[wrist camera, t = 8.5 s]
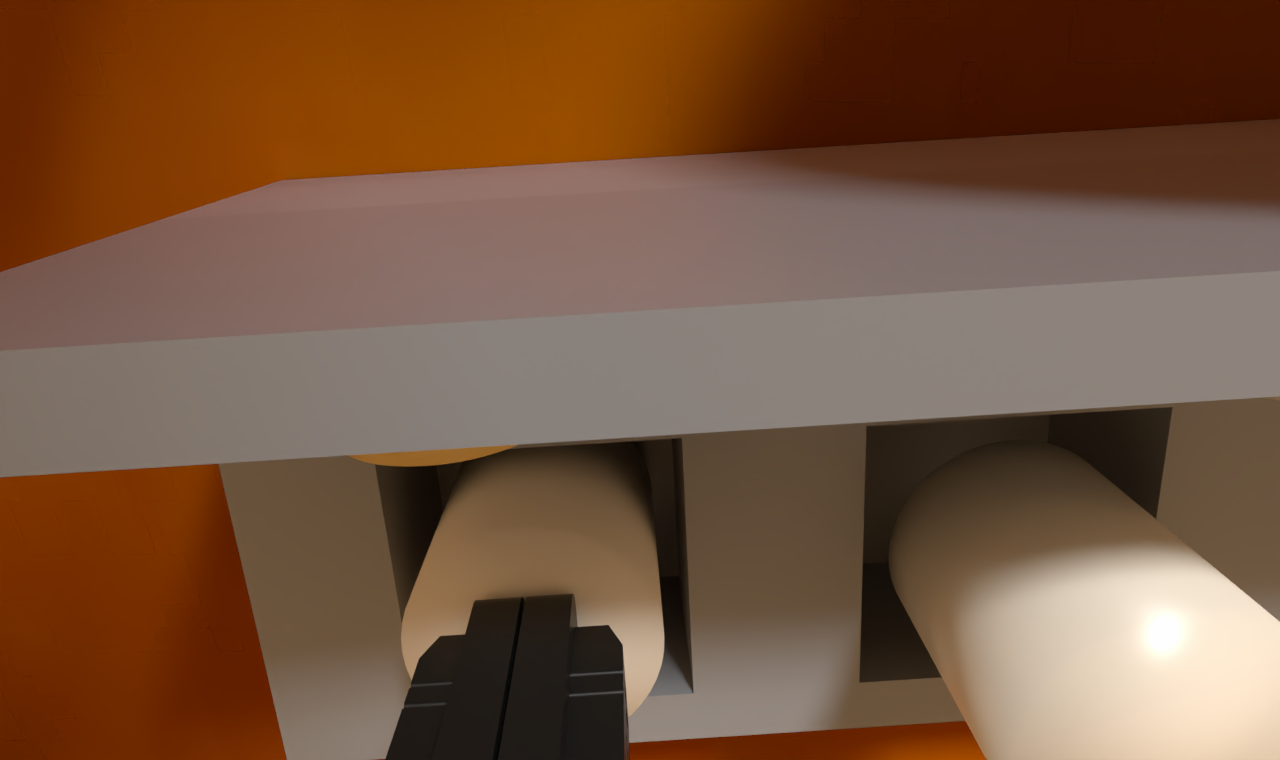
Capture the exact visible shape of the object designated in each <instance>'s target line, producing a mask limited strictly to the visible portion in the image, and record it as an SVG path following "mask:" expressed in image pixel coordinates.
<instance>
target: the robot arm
mask: <svg viewBox="0 0 1280 760" xmlns="http://www.w3.org/2000/svg"><path fill="white" fill-rule="evenodd" d="M385 760H630V758H629V722H628V709H627V695H626V682H625V668H624V655H623V645H622V643H621V642H620V640H619V639H618V638H617V636H616V635H615V633H614V632H613V630H612V629H611V628H610V626H609V625H600V626H584V627H578V625H577V614H576V604H575V597H574V594H561V595H545V596H530V597H526V599H525V600H524V598H523V597H517V598H501V599H486V600H475V601H474V603H473V607H472V610H471V614H470V618H469V622H468V625H467V629H466V633H465V634H463V635H447V636H440V637H439V638H438V639H437V640H436V641H435V642H434V643H433V644H432V645H431V646H430V647H429V648H428V649H427V650H426V652H425V653H424V654H423V655H422V656H421V657H420V658H419V660H418V663H417V666H416V669H415V672H414V675H413V678H412V681H411V688H409V690H408V693H407V696H406V699H405V702H404V709H402V711H401V714H400V717H399V720H398V723H397V726H396V729H395V732H394V735H393V738H392V741H391V744H390V747H389V750H388V753H387V756H386V759H385Z"/></svg>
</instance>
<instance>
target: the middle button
mask: <svg viewBox="0 0 1280 760" xmlns="http://www.w3.org/2000/svg"><path fill="white" fill-rule="evenodd" d="M888 556H889V570H890V575H891V580H892V583H893V585H894V588H895V591H896V593H897V595H898V597H899V599H900V600H901V602H902V604H903V606H904V608H905V610H906V612H907V613H908V615H909V617H910V619H911V621H912V623H913V625H914V626H915V628H916V630H917V632H918V634H919V636H920V638H921V639H922V641H923V643H924V645H925V647H926V649H927V650H928V652H929V654H930V656H931V658H932V660H933V662H934V663H935V665H936V667H937V669H938V671H939V673H940V675H941V676H942V678H943V680H944V682H945V684H946V686H947V688H948V689H949V691H950V693H951V695H952V697H953V699H954V701H955V702H956V704H957V706H958V708H959V710H960V712H961V714H962V715H963V717H964V719H965V721H966V723H967V725H968V727H969V728H970V730H971V732H972V734H973V736H974V738H975V740H976V741H977V743H978V745H979V747H980V749H981V751H982V753H983V754H984V756H985V758H986V760H1280V622H1279V621H1278V620H1277V619H1276V618H1275V617H1273V616H1272V615H1271V614H1270V613H1269V612H1267V611H1266V610H1265V609H1264V608H1263V607H1261V606H1260V605H1259V604H1258V603H1257V602H1255V601H1254V600H1253V599H1252V598H1251V597H1249V596H1248V595H1247V594H1246V593H1244V592H1243V591H1242V590H1241V589H1240V588H1238V587H1237V586H1236V585H1235V584H1234V583H1232V582H1231V581H1230V580H1229V579H1228V578H1226V577H1225V576H1224V575H1223V574H1222V573H1220V572H1219V571H1218V570H1217V569H1216V568H1214V567H1213V566H1212V565H1211V564H1209V563H1208V562H1207V561H1206V560H1205V559H1203V558H1202V557H1201V556H1200V555H1199V554H1197V553H1196V552H1195V551H1194V550H1193V549H1191V548H1190V547H1189V546H1188V545H1187V544H1185V543H1184V542H1183V541H1182V540H1181V539H1179V538H1178V537H1177V536H1176V535H1174V534H1173V533H1172V532H1171V531H1170V530H1168V529H1167V528H1166V527H1165V526H1164V525H1162V524H1161V523H1160V522H1159V521H1158V520H1156V519H1155V518H1154V517H1153V516H1152V515H1150V514H1149V513H1148V512H1147V511H1146V510H1144V509H1143V508H1142V507H1141V506H1139V505H1138V504H1137V503H1136V502H1135V501H1133V500H1132V499H1131V498H1130V497H1129V496H1127V495H1126V494H1125V493H1124V492H1123V491H1121V490H1120V489H1119V488H1118V487H1117V486H1115V485H1114V484H1113V483H1112V482H1110V481H1109V480H1108V479H1107V478H1106V477H1104V476H1103V475H1102V474H1101V473H1100V472H1098V471H1097V470H1096V469H1095V468H1094V467H1092V466H1091V465H1090V464H1089V463H1087V462H1086V461H1085V460H1084V459H1083V458H1081V457H1079V456H1078V455H1076V454H1074V453H1073V452H1071V451H1069V450H1066V449H1064V448H1061V447H1059V446H1056V445H1052V444H1048V443H1045V442H1039V441H1030V440H1010V441H1002V442H995V443H991V444H987V445H983V446H979V447H977V448H974V449H971V450H969V451H966V452H964V453H962V454H960V455H958V456H956V457H954V458H952V459H950V460H949V461H947V462H946V463H944V464H943V465H941V466H940V467H938V468H937V469H936V470H934V471H933V472H932V473H931V474H930V475H928V476H927V477H926V478H925V479H924V480H923V481H922V482H921V483H920V484H919V485H918V486H917V487H916V488H915V490H914V491H913V492H912V494H911V495H910V496H909V498H908V499H907V500H906V502H905V504H904V505H903V507H902V509H901V511H900V512H899V514H898V517H897V519H896V522H895V524H894V527H893V530H892V534H891V538H890V544H889V553H888Z"/></svg>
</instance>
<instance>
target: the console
mask: <svg viewBox="0 0 1280 760" xmlns="http://www.w3.org/2000/svg"><path fill="white" fill-rule="evenodd" d="M1010 440H1030V441H1039V442H1045V443H1048V444H1052V445H1056V446H1059V447H1061V448H1064V449H1066V450H1069V451H1071V452H1073V453H1074V454H1076V455H1078V456H1079V457H1081V458H1083V459H1084V460H1085V461H1086V462H1087V463H1089V464H1090V465H1091V466H1092V467H1094V468H1095V469H1096V470H1097V471H1098V472H1100V473H1101V474H1102V475H1103V476H1104V477H1106V478H1107V479H1108V480H1109V481H1110V482H1112V483H1113V484H1114V485H1115V486H1117V487H1118V488H1119V489H1120V490H1121V491H1123V492H1124V493H1125V494H1126V495H1127V496H1129V497H1130V498H1131V499H1132V500H1133V501H1135V502H1136V503H1137V504H1138V505H1139V506H1141V507H1142V508H1143V509H1144V510H1146V511H1147V512H1148V513H1149V514H1150V515H1152V516H1153V517H1154V518H1155V519H1156V520H1158V521H1159V522H1160V523H1161V524H1162V525H1164V526H1165V527H1166V528H1167V529H1168V530H1170V531H1171V532H1172V533H1173V534H1174V535H1176V536H1177V537H1178V538H1179V539H1181V540H1182V541H1183V542H1184V543H1185V544H1187V545H1188V546H1189V547H1190V548H1191V549H1193V550H1194V551H1195V552H1196V553H1197V554H1199V555H1200V556H1201V557H1202V558H1203V559H1205V560H1206V561H1207V562H1208V563H1209V564H1211V565H1212V566H1213V567H1214V568H1216V569H1217V570H1218V571H1219V572H1220V573H1222V574H1223V575H1224V576H1225V577H1226V578H1228V579H1229V580H1230V581H1231V582H1232V583H1234V584H1235V585H1236V586H1237V587H1238V588H1240V589H1241V590H1242V591H1243V592H1244V593H1246V594H1247V595H1248V596H1249V597H1251V598H1252V599H1253V600H1254V601H1255V602H1257V603H1258V604H1259V605H1260V606H1261V607H1263V608H1264V609H1265V610H1266V611H1267V612H1269V613H1270V614H1271V615H1272V616H1273V617H1275V618H1276V619H1277V620H1278V621H1279V622H1280V119H1270V120H1254V121H1238V122H1221V123H1205V124H1189V125H1172V126H1156V127H1140V128H1124V129H1107V130H1091V131H1075V132H1058V133H1042V134H1026V135H1010V136H993V137H977V138H961V139H945V140H928V141H912V142H896V143H879V144H863V145H847V146H831V147H814V148H798V149H782V150H765V151H749V152H733V153H717V154H700V155H684V156H668V157H652V158H635V159H619V160H603V161H586V162H570V163H554V164H538V165H521V166H505V167H489V168H472V169H456V170H440V171H424V172H407V173H391V174H375V175H359V176H342V177H326V178H310V179H293V180H281V181H278V182H275V183H272V184H268V185H265V186H262V187H259V188H256V189H253V190H250V191H247V192H244V193H241V194H238V195H235V196H232V197H229V198H226V199H223V200H219V201H216V202H213V203H210V204H207V205H204V206H201V207H198V208H195V209H192V210H189V211H186V212H183V213H180V214H177V215H174V216H170V217H167V218H164V219H161V220H158V221H155V222H152V223H149V224H146V225H143V226H140V227H137V228H134V229H131V230H128V231H125V232H121V233H118V234H115V235H112V236H109V237H106V238H103V239H100V240H97V241H94V242H91V243H88V244H85V245H82V246H79V247H76V248H73V249H69V250H66V251H63V252H60V253H57V254H54V255H51V256H48V257H45V258H42V259H39V260H36V261H33V262H30V263H27V264H24V265H20V266H17V267H14V268H11V269H8V270H5V271H2V272H0V477H14V476H30V475H46V474H61V473H77V472H93V471H109V470H125V469H140V468H156V467H172V466H188V465H204V464H218V465H219V469H220V473H221V478H222V482H223V486H224V491H225V495H226V499H227V503H228V508H229V512H230V516H231V521H232V525H233V529H234V534H235V538H236V542H237V547H238V551H239V555H240V560H241V564H242V568H243V572H244V577H245V581H246V585H247V590H248V594H249V598H250V603H251V607H252V611H253V616H254V620H255V624H256V628H257V633H258V637H259V641H260V646H261V650H262V654H263V659H264V663H265V667H266V672H267V676H268V680H269V685H270V689H271V693H272V697H273V702H274V706H275V710H276V715H277V719H278V723H279V728H280V732H281V736H282V741H283V745H284V749H285V753H286V758H287V760H374V759H386V756H387V753H388V750H389V747H390V744H391V741H392V738H393V735H394V732H395V729H396V726H397V723H398V720H399V717H400V714H401V711H402V709H404V702H405V699H406V696H407V693H408V690H409V688H411V678H410V676H409V673H408V671H407V669H406V665H405V661H404V657H403V653H402V644H401V631H402V621H403V617H404V612H405V608H406V606H407V603H408V601H409V598H410V595H411V593H412V590H413V588H414V585H415V583H416V580H417V578H418V575H419V572H420V570H421V567H422V565H423V562H424V560H425V557H426V555H427V552H428V549H429V547H430V544H431V542H432V539H433V537H434V534H435V531H436V529H437V526H438V524H439V521H440V519H441V516H442V514H443V511H444V508H445V506H446V503H447V501H448V498H449V496H450V493H451V491H452V488H453V485H454V483H455V480H456V478H457V475H458V473H459V470H460V467H461V465H462V462H463V461H467V460H472V459H476V458H480V457H484V456H488V455H491V454H494V453H498V452H501V451H504V450H506V449H517V448H533V447H548V446H564V445H580V444H596V443H612V442H627V441H631V442H632V443H633V444H634V445H635V446H636V448H637V449H638V451H639V453H640V454H641V456H642V458H643V460H644V462H645V464H646V467H647V470H648V473H649V477H650V481H651V489H652V499H653V511H654V522H655V534H656V545H657V557H658V568H659V580H660V591H661V603H662V614H663V626H664V654H663V660H662V665H661V668H660V671H659V674H658V677H657V680H656V681H655V683H654V685H653V687H652V689H651V691H650V693H649V694H648V696H647V697H646V698H645V700H644V701H643V703H642V704H641V705H640V706H639V707H638V708H637V709H636V710H635V712H634V713H633V714H632V715H631V716H629V717H628V722H629V743H635V742H650V741H666V740H681V739H696V738H711V737H727V736H742V735H757V734H773V733H788V732H803V731H819V730H834V729H849V728H865V727H880V726H895V725H911V724H926V723H941V722H957V721H965V719H964V717H963V715H962V714H961V712H960V710H959V708H958V706H957V704H956V702H955V701H954V699H953V697H952V695H951V693H950V691H949V689H948V688H947V686H946V684H945V682H944V680H943V678H942V676H941V675H940V673H939V671H938V669H937V667H936V665H935V663H934V662H933V660H932V658H931V656H930V654H929V652H928V650H927V649H926V647H925V645H924V643H923V641H922V639H921V638H920V636H919V634H918V632H917V630H916V628H915V626H914V625H913V623H912V621H911V619H910V617H909V615H908V613H907V612H906V610H905V608H904V606H903V604H902V602H901V600H900V599H899V597H898V595H897V593H896V591H895V588H894V585H893V583H892V580H891V575H890V570H889V556H888V553H889V544H890V538H891V534H892V530H893V527H894V524H895V522H896V519H897V517H898V514H899V512H900V511H901V509H902V507H903V505H904V504H905V502H906V500H907V499H908V498H909V496H910V495H911V494H912V492H913V491H914V490H915V488H916V487H917V486H918V485H919V484H920V483H921V482H922V481H923V480H924V479H925V478H926V477H927V476H928V475H930V474H931V473H932V472H933V471H934V470H936V469H937V468H938V467H940V466H941V465H943V464H944V463H946V462H947V461H949V460H950V459H952V458H954V457H956V456H958V455H960V454H962V453H964V452H966V451H969V450H971V449H974V448H977V447H979V446H983V445H987V444H991V443H995V442H1002V441H1010Z"/></svg>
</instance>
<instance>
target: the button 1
mask: <svg viewBox="0 0 1280 760" xmlns="http://www.w3.org/2000/svg"><path fill="white" fill-rule="evenodd" d="M561 594H574V597H575V604H576V614H577V625H578V627H584V626H600V625H609V626H610V628H611V629H612V630H613V632H614V633H615V635H616V636H617V638H618V639H619V640H620V642H621V643H622V645H623V655H624V668H625V682H626V695H627V709H628V717H629V716H631V715H632V714H633V713H634V712H635V710H636V709H637V708H638V707H639V706H640V705H641V704H642V703H643V701H644V700H645V698H646V697H647V696H648V694H649V693H650V691H651V689H652V687H653V685H654V683H655V681H656V680H657V677H658V674H659V671H660V668H661V665H662V660H663V654H664V626H663V614H662V603H661V591H660V580H659V568H658V557H657V545H656V534H655V522H654V511H653V499H652V489H651V481H650V477H649V473H648V470H647V467H646V464H645V462H644V460H643V458H642V456H641V454H640V453H639V451H638V449H637V448H636V446H635V445H634V444H633V443H632V442H631V441H627V442H612V443H596V444H580V445H564V446H548V447H533V448H517V449H506V450H504V451H501V452H498V453H494V454H491V455H488V456H484V457H480V458H476V459H472V460H467V461H463V462H462V465H461V467H460V470H459V473H458V475H457V478H456V480H455V483H454V485H453V488H452V491H451V493H450V496H449V498H448V501H447V503H446V506H445V508H444V511H443V514H442V516H441V519H440V521H439V524H438V526H437V529H436V531H435V534H434V537H433V539H432V542H431V544H430V547H429V549H428V552H427V555H426V557H425V560H424V562H423V565H422V567H421V570H420V572H419V575H418V578H417V580H416V583H415V585H414V588H413V590H412V593H411V595H410V598H409V601H408V603H407V606H406V608H405V612H404V617H403V621H402V631H401V644H402V653H403V657H404V661H405V665H406V669H407V671H408V673H409V676H410V678H411V681H412V678H413V675H414V672H415V669H416V666H417V663H418V660H419V658H420V657H421V656H422V655H423V654H424V653H425V652H426V650H427V649H428V648H429V647H430V646H431V645H432V644H433V643H434V642H435V641H436V640H437V639H438V638H439V637H440V636H447V635H463V634H465V633H466V629H467V625H468V622H469V618H470V614H471V610H472V607H473V603H474V601H475V600H486V599H501V598H517V597H523V598H524V600H525V599H526V597H530V596H545V595H561Z"/></svg>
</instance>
